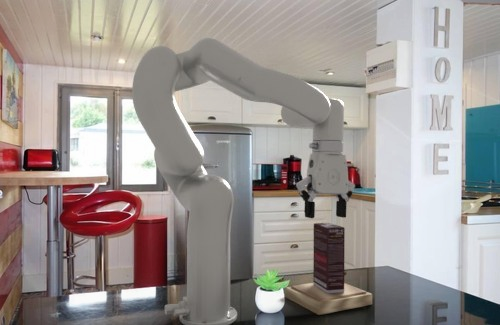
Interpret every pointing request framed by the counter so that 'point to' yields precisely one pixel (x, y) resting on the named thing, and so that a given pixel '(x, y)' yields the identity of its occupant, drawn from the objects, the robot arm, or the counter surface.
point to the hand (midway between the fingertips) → (325, 217)
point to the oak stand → (328, 298)
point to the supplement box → (329, 257)
